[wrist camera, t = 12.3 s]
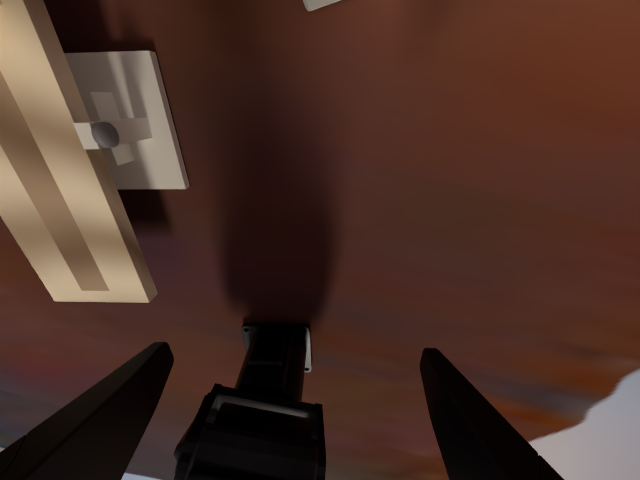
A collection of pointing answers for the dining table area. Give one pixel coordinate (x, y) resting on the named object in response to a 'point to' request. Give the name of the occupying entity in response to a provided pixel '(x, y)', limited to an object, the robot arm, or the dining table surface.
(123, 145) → the pivot stand
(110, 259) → the beam
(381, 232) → the dining table surface
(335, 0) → the small box
